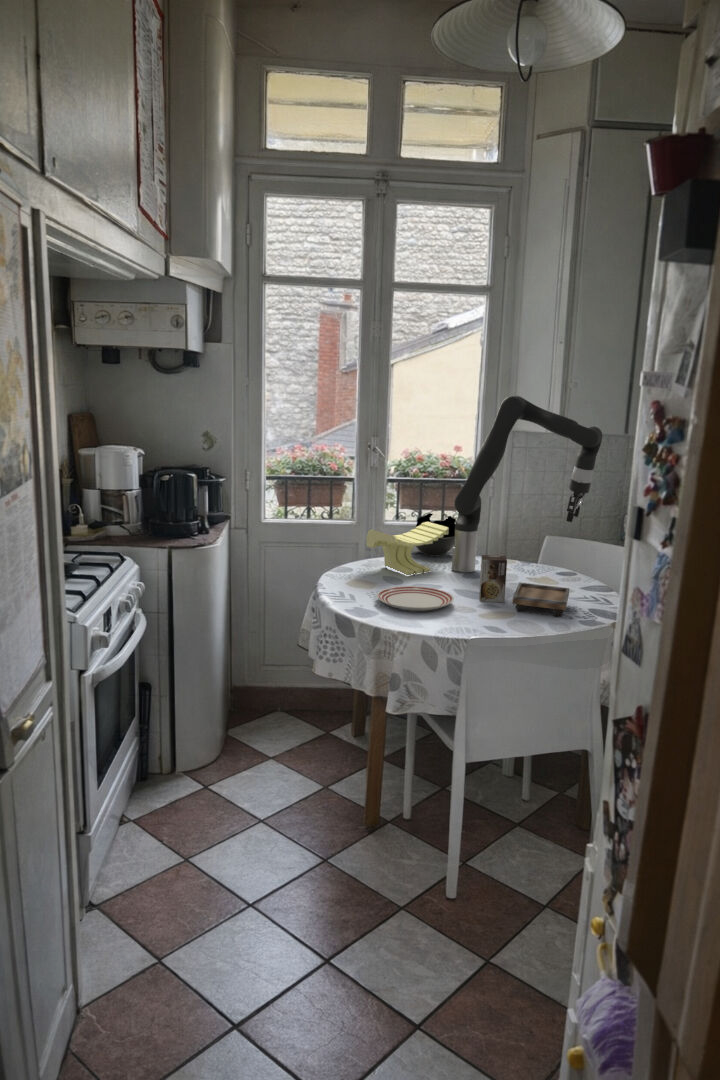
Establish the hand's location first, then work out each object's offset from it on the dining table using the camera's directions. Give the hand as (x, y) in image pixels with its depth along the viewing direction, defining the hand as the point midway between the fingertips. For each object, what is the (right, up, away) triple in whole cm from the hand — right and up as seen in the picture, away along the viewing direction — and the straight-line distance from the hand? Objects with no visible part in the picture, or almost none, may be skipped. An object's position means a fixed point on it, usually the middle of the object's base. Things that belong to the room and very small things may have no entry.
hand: (572, 518), depth 309 cm
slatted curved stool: (-63, -21, +19) cm, 69 cm away
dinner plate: (-63, -31, -24) cm, 74 cm away
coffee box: (-34, -30, -16) cm, 48 cm away
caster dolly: (-18, -33, -24) cm, 44 cm away
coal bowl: (-50, -15, +44) cm, 68 cm away
